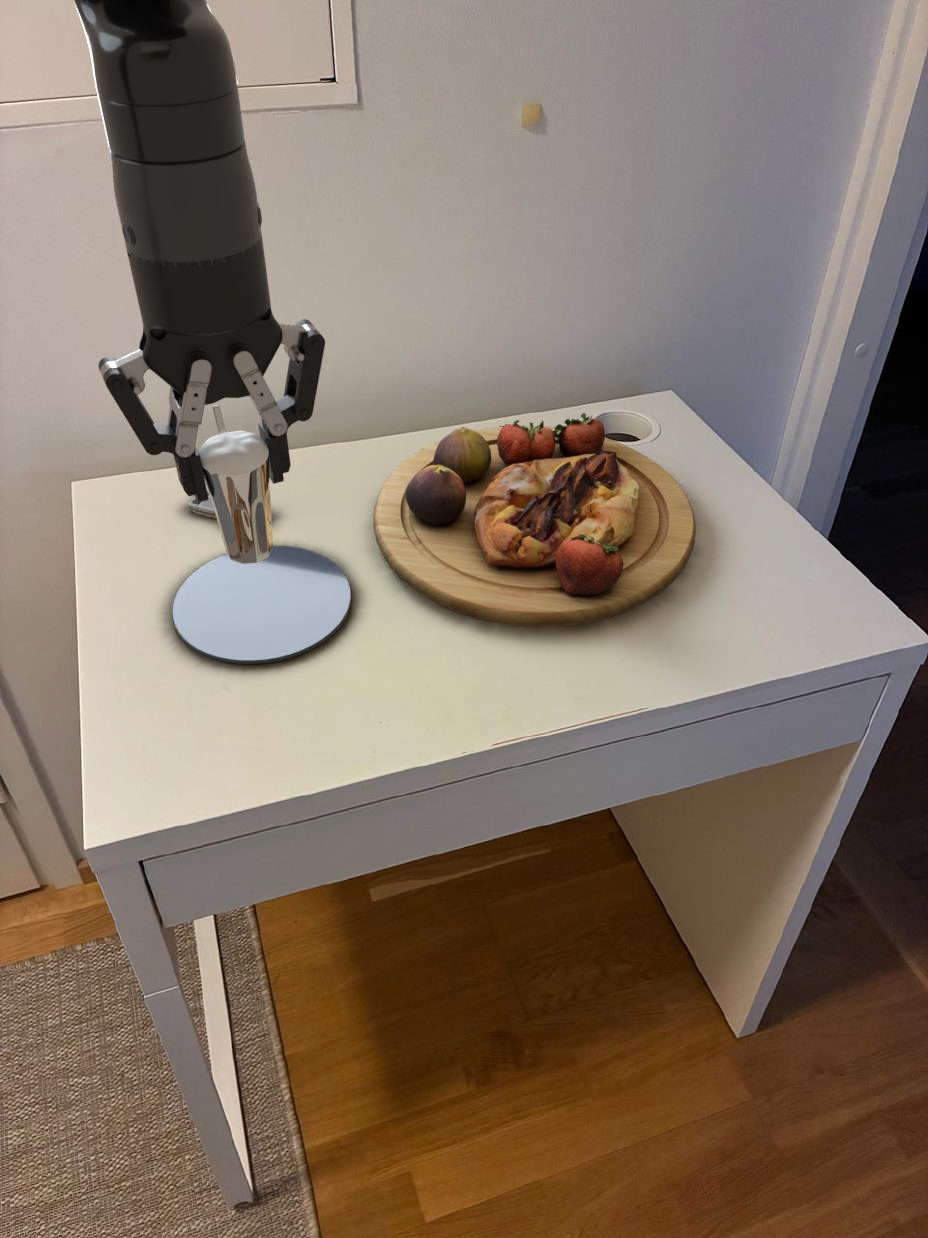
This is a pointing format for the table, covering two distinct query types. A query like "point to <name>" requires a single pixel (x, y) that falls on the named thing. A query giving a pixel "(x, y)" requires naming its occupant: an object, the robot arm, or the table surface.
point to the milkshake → (239, 491)
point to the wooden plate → (534, 524)
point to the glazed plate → (262, 606)
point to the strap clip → (203, 507)
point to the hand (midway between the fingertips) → (237, 485)
